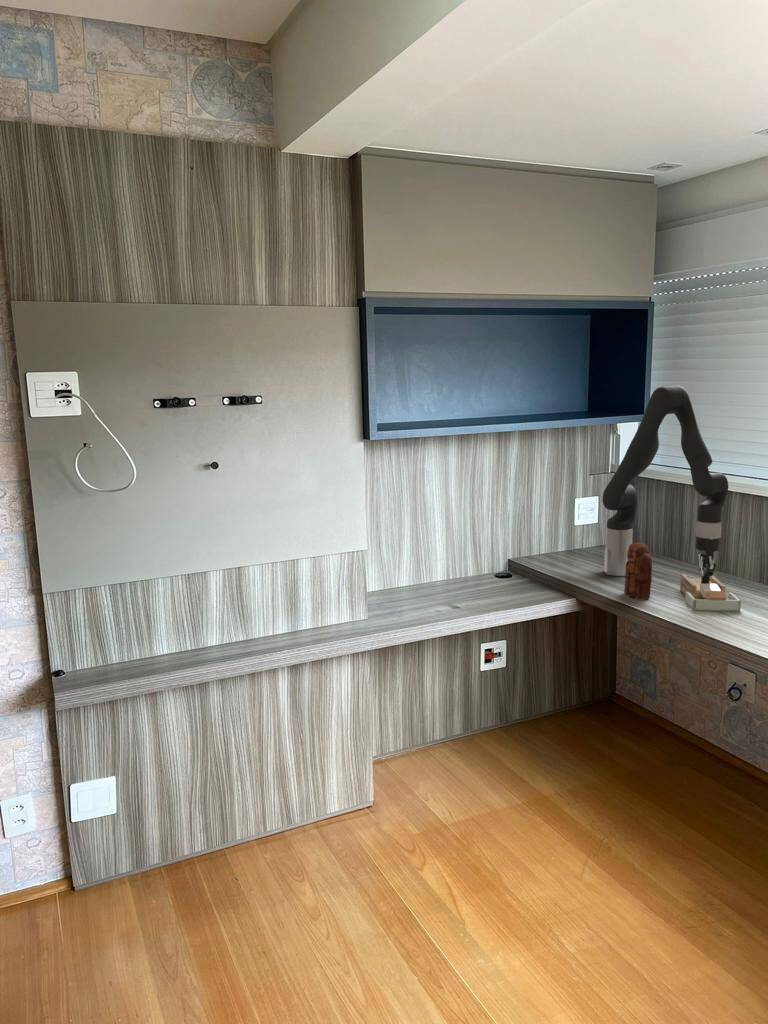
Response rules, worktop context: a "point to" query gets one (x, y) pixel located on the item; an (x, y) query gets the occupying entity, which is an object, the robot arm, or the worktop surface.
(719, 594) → the tile
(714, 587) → the tile
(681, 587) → the wooden u-channel
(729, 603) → the tray
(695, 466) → the robot arm
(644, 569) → the wooden figurine
